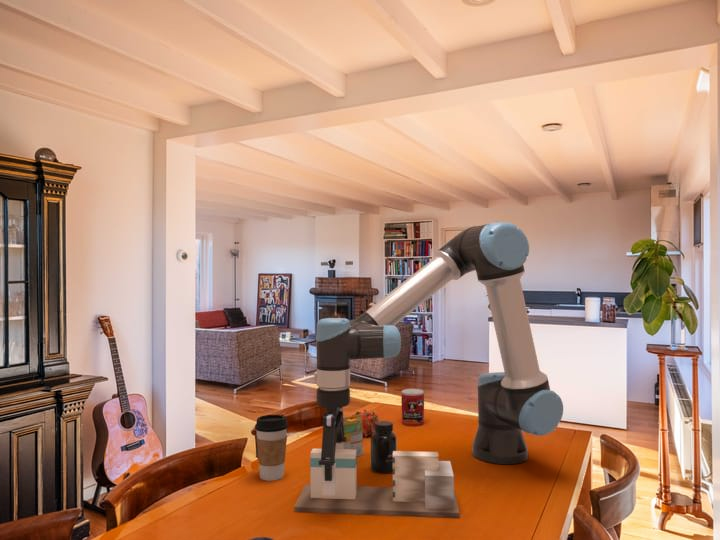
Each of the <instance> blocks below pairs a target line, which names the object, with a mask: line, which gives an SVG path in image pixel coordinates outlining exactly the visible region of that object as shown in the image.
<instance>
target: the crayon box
mask: <svg viewBox="0 0 720 540" xmlns="http://www.w3.org/2000/svg"><path fill="white" fill-rule="evenodd" d="M353 415H354V414H353ZM350 418H357V419H353V420H350ZM343 423H344V433H345V435H344V437H347V440H346V442H341V443H344V449H354V450H356V454H357V457H360V456H363V455H364V444H363V443H364V439H363V437H364V434H363V430H362V414H359V415H354V416H352V415H349V416H343Z"/></svg>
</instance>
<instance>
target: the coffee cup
mask: <svg viewBox="0 0 720 540" xmlns="http://www.w3.org/2000/svg"><path fill="white" fill-rule="evenodd" d="M288 428H289V423H288V419H287V416H285V415H283V414H266V415H265V414H264V415H261V416H258V417H257V418H256V423H255V426H254V430H255V431H256V436H255V438H256V449H257V459H258V468H259V469H258V470H259V479H261V480H263V481H269V482H270V481H272V482H273V481H277V480H281V479H282V478H284V476H285V461H286V453H287V452H286V450H287V439H288V435H287V431H288V430H287V429H288Z"/></svg>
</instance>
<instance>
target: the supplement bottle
mask: <svg viewBox="0 0 720 540" xmlns="http://www.w3.org/2000/svg"><path fill="white" fill-rule="evenodd" d="M374 430H375V431H373V432H372V433H371V434H370V469H371V470H372V472H374V473H378V474H390V473H393V451H398V450H397V449H398V444H397V443H398V438H397V435H396V434H395V433H394V432H393V431H394V424H393V422H392V421H387V420H378V422H375V428H374Z"/></svg>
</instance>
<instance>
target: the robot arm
mask: <svg viewBox="0 0 720 540" xmlns="http://www.w3.org/2000/svg"><path fill="white" fill-rule="evenodd" d="M529 253H530V243H529V240H528V238H527V236H526V233H524V231H523V230H522V229H521V228H520V227H518V226H517V225H516V224H514V223H511V222H507V221H505V222H503V221H502V222H501V221H496V222H491V223H486V224H481V225H475V226H471V227H467V228H466V229H464V230H462V231H460V232H459V233H458V234H457V235H455V236H454V237H453V238H451V239H450V240H449V241H447V242H446V243H445V244H444V245H443V246H442V247H440V248H439V249H438V250H437V251H435V253H434V258H432V259H431V260H430V261H427V263H426V264H424V265H423V266H422V267H421V268H419V269H418V270H417V271H416V272H414V273H413V274H412V275H410V276H409V277H408V278H406V279H405V280H404V281H402V282H401V283H400V284H399V285H398V286H396V287H395V288H394V289H393V290H391V291H390V292H388V294H386V295H385V296H384V297H382V298H381V299H380V300H379V301H377V302H376V303H374V304H373V305H372V306H371V307H369V309H367V310H365V312H363V313H362V314H360V315H359V316H357V318H355V319H351V320H349V319H348V318H345V317H344V318H343V317H328V318H327V317H326V318H322V319H319V320H318V321H317V322H316V334H315V337H316V338H315V342H316V343H315V345H316V346H315V347H316V348H315V349H316V371H315V372H314V374H313V376H314V377H317V378H316V386H317V387H318V388H317V389H316V405H317V406H319V407H321V408H324V409H326V411H325V413H323V416H322V437H321V438H322V440H321V449H322V452H321V461H319V465H322V487H323V495H336V463H335V450H336V449H344V443H341V442H346V440H347V437H344V435H345V433H344V423H343V417H344V411H343V410H344V409H343V408H344V407H347V406H349V405H350V404H351V389H350V388H349V387H350V385H351V365H350V362H351V360H370V359H371V360H372V359H373V360H374V359H384V360H385V359H389V358H395V357H397V356H398V355H399V354H400V352H401V348H402V338H401V337H402V336H401V333H400V330H399V328H397V326H396V325H397V324H399V323H400V322H401V321H402V320H403V319H404V318H405V317H407V316H408V315H409V314H411V313H412V312H413V311H414V310H416V309H417V308H418V307H419V306H421V305H422V304H424V303H425V302H426V301H427V300H428V299H430V298H431V297H432V296H433V295H435V294H436V293H437V292H438V291H439V290H441V289H442V288H443V287H445V286H446V285H448V284H449V282H451V281H452V280H453V281H454V280H455V281H458V280H460V279H461V278H462V277H463V276H465V275H467V274H468V273H471V272H474V271H475V272H476V278H477V280H478V282H479V283H481V284H482V285H483V286H485V288H486V293H487V298H488V303H489V308H490V311H491V317H492V322H493V327H494V330H495V334H496V338H497V339H496V340H497V343H498V349H499V353H500V357H501V362H502V366H503V371H504V372H503V371H499V372H485V373H481V374H480V375H479V376H478V378H477V379H478V380H477V386H476V388H477V410H478V411H477V412H478V413H477V417H478V418H477V419H478V425H477V428H476V431H475V435H474V438H473V442H472V447H471V449H472V450H471V451H472V452H471V453H472V455H473V456H474V457H475V458H477V459H478V460H480V461H484V462H487V463H491V464H498V465H513V464H515V465H516V464H521V463H524V462H526V461H527V460H528V459H529V449H528V446H527V443H526V439H525V436H524V434H523V432H524V433H525V434H531V435H534V436H541V437H542V436H547V435H549V434H550V433H552V432H553V431H555V429H556V428H557V427H558V426H559V423H560V422H561V420H562V419H563V415H564V404H563V400H562V397H561V396H560V395H559V394H557V393H556V392H555V391H554V390H551V387H550V382H549V378H548V375H547V374H546V373H544V372H542V371H541V370H540V367H539V365H540V364H539V361H538V356H537V353H536V352H537V351H536V348H535V343H534V338H533V333H532V329H531V323H530V320H529V314H528V311H527V305H526V302H525V296H524V291H523V287H522V282H521V278H522V277H523V275H524V274H525V272H526V270H525V265H524V264H525V263H526V261H527V257H528V256H529ZM326 458H330V459H326Z"/></svg>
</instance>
